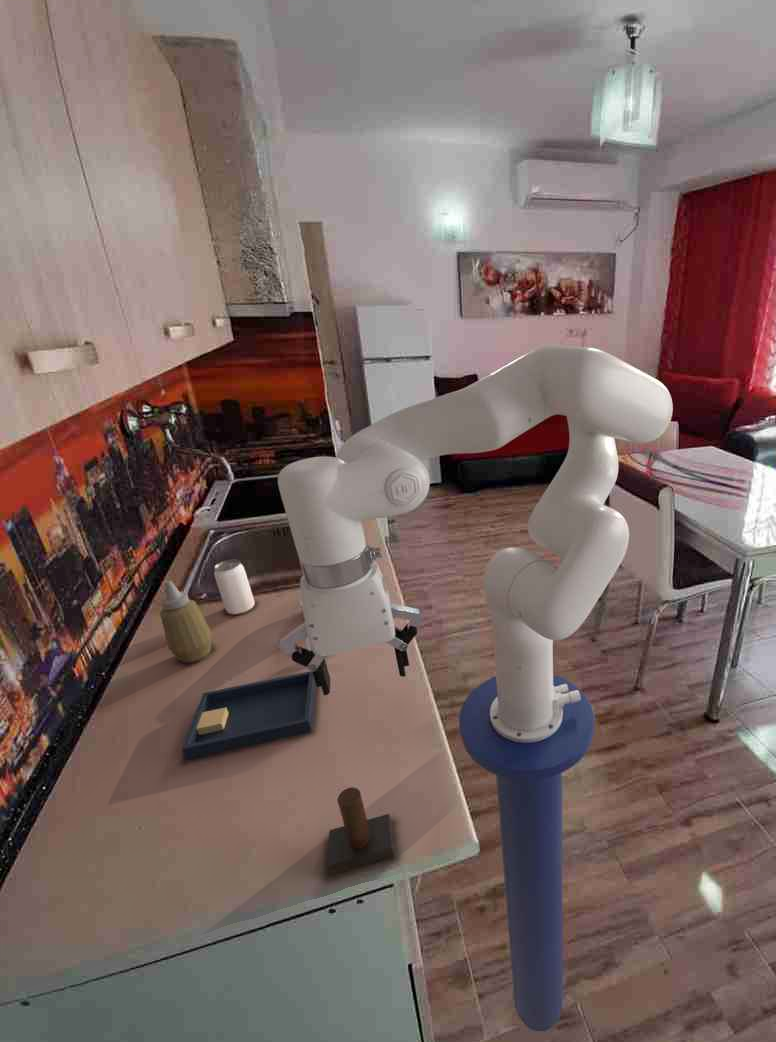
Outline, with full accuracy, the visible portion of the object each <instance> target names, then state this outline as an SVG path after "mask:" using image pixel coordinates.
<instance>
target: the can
mask: <svg viewBox="0 0 776 1042" xmlns="http://www.w3.org/2000/svg"><path fill="white" fill-rule="evenodd" d="M213 570H214V573H213V576H214V579H215V582H216V586H217V588H218V591H219V593H220V597H221V601H222V602H223V606H224V608H225V611H226V613H228V614H230V615H235V616H236V615H241V614H245V613H247V612H249V611H251V610H252V609H253V608H254V606H255V604H256V602H255V598H254V595H253V592H252V589H251V584H250V583H249V579H248V576H247V571H246V570H245V566H244V565H243V564H242V563H241V560H239V559H227V560H224V561H221V562H218V563H217V564H216V565H215V566H214V567H213Z"/></svg>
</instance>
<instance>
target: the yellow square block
mask: <svg viewBox="0 0 776 1042" xmlns="http://www.w3.org/2000/svg"><path fill="white" fill-rule="evenodd" d="M228 714H229V713H228V711H227V708H221V709H216V710H212V711H207V712H202V714H201V717H200V720H199V723H198V725H197V728H196V730H197V732H198V734H199V735H202V734H206V733H211V732H215V731H220V730H224V727H225V724H226V721H227V717H228Z"/></svg>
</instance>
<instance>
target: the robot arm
mask: <svg viewBox="0 0 776 1042" xmlns="http://www.w3.org/2000/svg"><path fill="white" fill-rule="evenodd" d="M669 391H670V390H669V389H668V388H667V387H666V386H665V385H664V383H663V382H662V381H660V380H659V379H656V378H655V377H653V376H651V375H650V374H647V373H646V372H644V371H642V370H640V369H638V368H636V367H634V366H633V365H631V364H629V363H627V362H626V361H624V360H622V359H620V358H618V357H616V356H614V355H612V354H610V353H608V352H605V351H604V350H601V349H598V348H594V347H586V346H585V347H584V346H571V345H570V346H569V345H546V346H541V347H538V348H535V349H533V350H531V351H529V352H527V353H525V354H523V355H522V356H520V357H519V358H517V359H515V360H513V361H511V362H509V363H508V364H506V365H504V366H502V367H501V368H498V369H496V370H495V371H493V372H491V373H490V374H488V375H486V376H484V377H482V378H480V379H479V380H477V381H475V382H473V383H471V384H469V385H468V386H466V387H464V388H461V389H459V390H456V391H452V392H449V393H445V394H443V395H440V396H439V395H438V396H437V397H434V398H432V399H429V400H426V401H422V402H419V403H416V404H413V405H411V406H407V407H405V408H402V409H400V410H397V411H395V412H393V413H391V414H389V415H387V416H385V417H383V418H381V419H379V420H377V421H376V422H373V423H372V424H370V425H368V426H366V427H364V428H363V429H360V430H359V431H357V432H356V433H354V434H353V435H352V436H350V437H348V438H347V439H346V440H345V441H344V442H343V443H342V445H341V446H340V447H339V449H338V451H337V453H336V455H335V457H334V456H313V457H307V458H303V459H299V460H296V461H294V462H292V463H289V464H287V465H285V466H284V467H283V468H282V469H281V470H280V472H279V473H278V476H277V485H278V490H279V495H280V498H281V501H282V504H283V508H284V511H285V515H286V518H287V522H288V525H289V528H290V532H291V536H292V539H293V542H294V546H295V549H296V553H297V556H298V560H299V564H300V567H301V570H302V574H303V575H302V576H301V577H300V582H299V583H300V585H299V586H300V588H299V589H300V601H301V600H302V607H301V608H302V614H303V618H304V619H303V620H304V622H302V623H301V624H300V625H298V626H297V627H295V628H293V630H291V631H290V632H288V633H287V634H286V635H283V637H281V638H280V640H279V642H278V643H279V644H278V649H279V650H280V651H282V652H283V653H284V654H285V655H286V656H288V657H290V658H291V661H292V662H293V663H296V664H298V665H301V666H303V667H306V669H307V672H312V673H313V676H314V680H315V683H316V688H319V687H320V688H321V690H322V694H323V696H328V695H329V694H330V693H331V676H330V673H329V669H328V666H327V662H326V657H330V656H336V655H339V654H344V653H348V652H353V651H358V650H363V649H366V648H371V647H376V646H379V645H383V644H388V645H390V646H391V647H394V654H395V658H396V659H395V660H396V663H397V664H396V665H397V669H398V674H399V676H400V677H401V678H403V677H406V676H407V675H406V669H405V668H406V667H408V666H410V662H409V661H410V660H409V656H408V652H407V650H408V648H409V646H408V645H409V644H410V643H411V642H412V641H413V639H414V638H415V637H416V636H417V635H418V630H419V628H420V626H421V624H422V620H423V617H424V615H423V612H422V610H421V609H420V608H415V607H412V606H411V607H410V606H406V605H401V604H396V603H393V602H391V599H390V595H389V591H388V588H387V583H386V582H385V579H384V575H383V574H382V571H381V568H380V567H379V564H378V562H376V561H377V560H379V559H382V558H383V555H382V551H381V546H379V547H374V546H372V547H371V546H370V544H369V545H368V543H367V540H366V537H365V532H364V527H363V521H365V520H366V521H367V520H373V519H381V518H389V517H390V518H391V517H396V516H400V515H403V514H407V513H410V512H411V511H413V510H415V509H416V508H418V507H419V506H420V505H421V504H422V503H423V502H424V501H425V499H426V497H427V496H428V493H429V490H430V484H431V481H430V474H429V472H428V469H427V468H426V465H425V464H424V463H423V462H424V461H427V460H429V459H433V458H436V457H440V456H447V455H455V454H456V455H457V454H459V455H460V454H479V453H486V452H492V451H496V450H498V449H500V448H502V447H504V446H505V445H507V444H508V443H510V442H511V441H513V440H515V439H516V438H518V437H519V436H521V435H523V434H524V433H526V432H527V431H529V430H531V429H532V428H534V427H535V426H537V425H538V424H540V423H542V422H543V421H545V420H547V419H548V418H550V417H552V416H556V415H559V416H560V415H561V416H564V417H566V421H567V426H568V436H569V440H568V441H569V442H568V450H567V454H566V456H565V459H564V460H563V462H562V464H561V465H560V467H559V469H558V471H557V472H556V474H555V476H554V477H553V479H552V480H551V482H550V483H549V485H548V486H547V488H546V489H545V491H544V493H543V494H542V496H541V497H540V499H538V502H537V503H536V505H535V507H534V508H533V510H532V512H531V514H530V516H529V519H528V521H527V533H528V535H529V537H530V539H531V540H532V541H533V542H534V543H535V544H536V545H538V546H539V547H541V548H543V549H544V550H546V551H547V552H550V553H551V554H553V555H555V556H557V557H559V558H561V559H562V561H561V562H560V564H559V566H557V565H555V564H554V563H552V562H551V561H549V560H547V559H546V558H544V557H542V556H540V555H538V554H537V553H534V552H533V551H530V550H529V549H525V548H523V547H522V548H521V547H517V546H515V547H514V546H513V547H512V546H511V547H506V548H502V549H501V550H499V551H497V552H496V553H495V554H493V555H492V556H491V557H490V559H489V561H487V564H486V566H485V569H484V571H483V578H482V579H483V580H482V581H483V583H482V585H483V593H484V596H485V601H486V604H487V607H488V611H489V616H490V620H491V628H492V637H493V638H492V639H493V651H494V652H493V653H494V654H493V655H494V669H495V676H496V682H497V697H496V698H495V700H494V701H493V703H492V705H491V707H490V720H491V723H492V725H493V727H494V729H495V730H496V731H497V732H498V733H499V734H500V735H501V736H503V737H505V738H507V739H509V740H512V741H515V742H521V743H531V742H537V741H540V740H543V739H546V738H547V737H549V736H551V735H552V734H553V733H555V732H556V731H557V729H558V728H559V727H560V724H561V722H562V718H563V710H562V707H564V704H568V703H575V702H579V701H581V697H580V693H579V691H578V690H575V691H571V692H568V686H567V684H563V685H559V686H556V687H554V686H553V674H554V650H553V649H554V641H561V640H565V639H567V638H568V637H570V636H572V635H573V634H574V633H575V632H577V630H579V629H580V627H581V626H582V625H583V624H584V622H585V621H586V620H587V618H588V616H589V615H590V613H591V612H592V610H593V609H594V607H595V606H596V604H597V602H598V600H599V599H600V597H601V596H602V595H603V593H604V591H605V589H606V588H607V587H608V585H609V583H610V582H611V580H612V579H613V577H614V575H615V574H616V572H617V571H618V569H619V567H620V566H621V563H622V562H623V560H624V558H625V556H626V553H627V551H628V546H629V540H630V529H629V525H628V522H627V520H626V518H625V517H624V516H623V515H622V514H621V513H620V512H619V511H617V510H616V509H614V508H612V507H610V506H608V505H606V504H605V502H606V500H607V498H608V497H609V495H610V494H611V491H612V490H613V488H614V486H615V484H616V481H617V480H618V474H619V456H618V451H617V444H616V440H615V439H617V440H621V441H626V442H629V443H634V444H647V443H651V442H653V441H655V440H657V439H659V438H660V437H661V436H662V435H663V434H664V433H665V432H666V430H667V429H668V427H669V425H670V423H671V421H672V417H673V410H674V407H673V400H672V395H671V394H670V392H669ZM395 619H400V620H404V621H408V622H407V623H406V625H405V626H404V627H403V628H402V629H401V628H400V627H397V626H396V625H395ZM307 636H308V639H309V643H310V646H311V651H309V650H307V649H305V647H302V646H298V643H300V642H301V641H303V640H304V639H306V637H307ZM564 692H568V693H566V694H561V693H564Z"/></svg>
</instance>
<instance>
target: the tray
mask: <svg viewBox="0 0 776 1042" xmlns="http://www.w3.org/2000/svg"><path fill="white" fill-rule="evenodd" d="M316 690H317V686H316V683H315V680H314V676H313V673H312V672H310V671H305V672H299V673H296V674H290V675H284V676H280V677H274V678H271V679H265V680H260V681H255V682H251V683H246V684H245V683H244V684H241V685H236V686H230V687H226V688H221V689H217V690H212V691H208V692H207V691H206V692H203V693H202V695H201V698H200V701H199V703H198V706H197V709H196V711H195V714H194V717H193V719H192V721H191V725H190V727H189V730H188V732H187V734H186V737H185V740H184V743H183V744H182V748H181V749H182V753H183V755H184V758H185V760H186V761H189V760H194V759H197V758H203V757H207V756H211V755H215V754H220V753H225V752H229V751H233V750H238V749H241V748H247V747H251V746H255V745H259V744H260V745H261V744H264V743H267V742H268V743H269V742H272V741H277V740H281V739H285V738H290V737H294V736H295V737H296V736H300V735H303V734H308V733H312V731H313V722H314V721H313V720H314V711H315V703H316V702H315V700H316ZM221 708H227V711H228V713H229V714H228V717H227V721H226V724H225V727H224V730H220V731H215V732H211V733H206V734H202V735H199V734H198V732H197V730H196V728H197V725H198V723H199V720H200V717H201V714H202V712H207V711H212V710H216V709H221Z"/></svg>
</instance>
